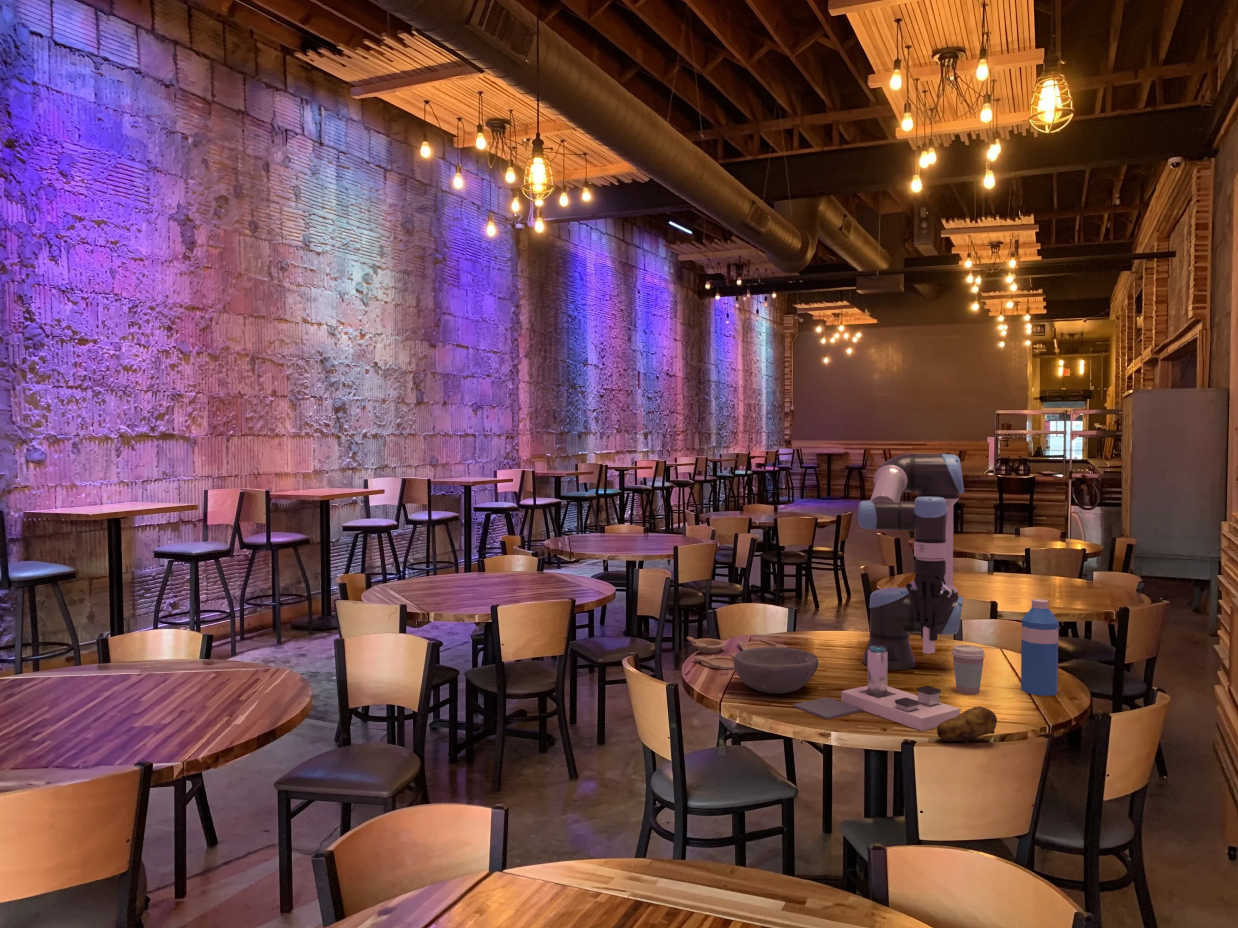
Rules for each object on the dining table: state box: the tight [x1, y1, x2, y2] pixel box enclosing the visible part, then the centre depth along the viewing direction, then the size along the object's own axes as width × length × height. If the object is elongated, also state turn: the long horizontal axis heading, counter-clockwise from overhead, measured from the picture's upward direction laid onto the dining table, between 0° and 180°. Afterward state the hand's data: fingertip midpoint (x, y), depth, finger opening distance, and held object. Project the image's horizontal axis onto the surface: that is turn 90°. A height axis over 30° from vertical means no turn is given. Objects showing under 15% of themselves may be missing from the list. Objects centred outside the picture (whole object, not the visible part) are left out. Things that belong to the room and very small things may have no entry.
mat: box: [793, 696, 862, 720], centre depth 221 cm, size 12×12×1 cm
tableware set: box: [686, 636, 789, 670], centre depth 276 cm, size 35×29×4 cm
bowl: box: [734, 647, 819, 695], centre depth 238 cm, size 23×22×10 cm
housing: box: [840, 685, 961, 732], centre depth 219 cm, size 26×14×3 cm, turn 31°
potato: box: [936, 706, 998, 742], centre depth 197 cm, size 8×13×8 cm, turn 71°
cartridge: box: [866, 645, 889, 698], centre depth 225 cm, size 5×5×15 cm
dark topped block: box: [916, 685, 942, 705], centre depth 216 cm, size 4×4×3 cm
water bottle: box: [1020, 598, 1059, 697], centre depth 236 cm, size 9×9×25 cm
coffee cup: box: [951, 644, 986, 695], centre depth 236 cm, size 8×9×12 cm
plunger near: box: [895, 698, 919, 713], centre depth 212 cm, size 4×4×3 cm
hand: (929, 652), depth 215 cm, fingers closed
